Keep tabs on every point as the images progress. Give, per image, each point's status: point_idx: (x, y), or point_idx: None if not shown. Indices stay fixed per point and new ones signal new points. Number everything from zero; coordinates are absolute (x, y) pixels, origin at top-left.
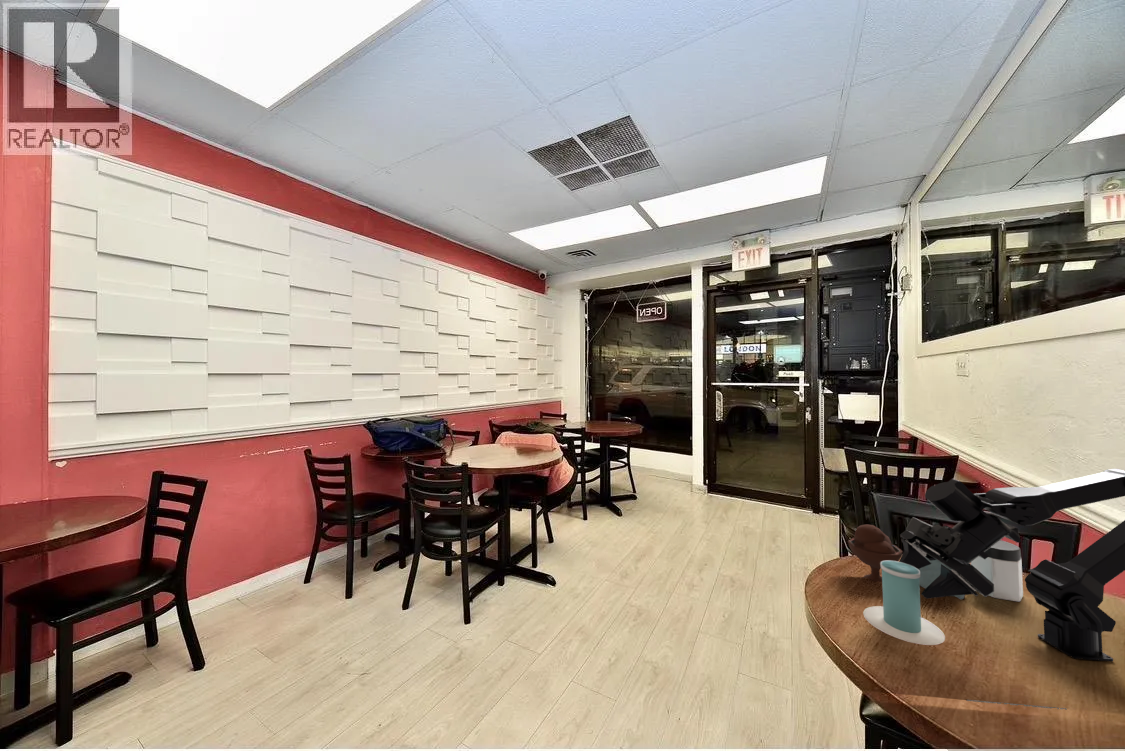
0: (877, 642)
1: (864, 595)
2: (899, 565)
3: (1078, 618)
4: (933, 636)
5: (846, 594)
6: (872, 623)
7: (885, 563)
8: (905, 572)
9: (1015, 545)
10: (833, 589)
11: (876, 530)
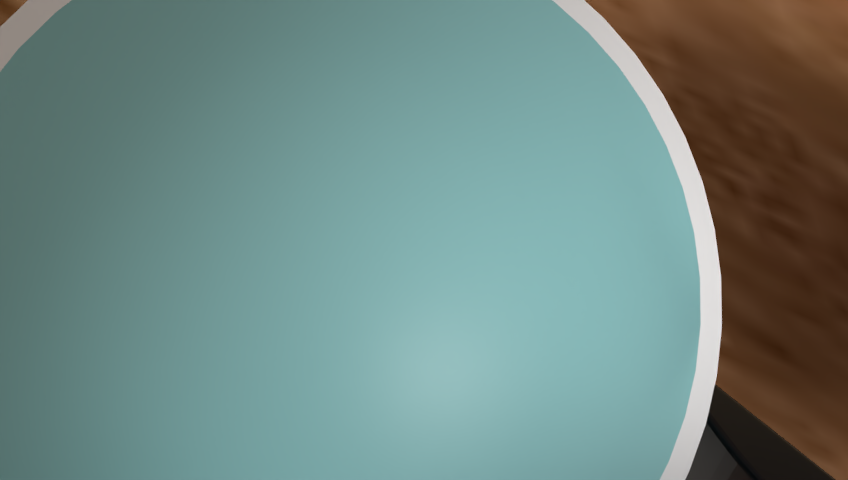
0: (14, 10)
1: (758, 239)
2: (470, 336)
3: None
4: None
5: (730, 96)
6: None
7: (500, 46)
8: (23, 280)
9: None
10: (781, 25)
11: None
